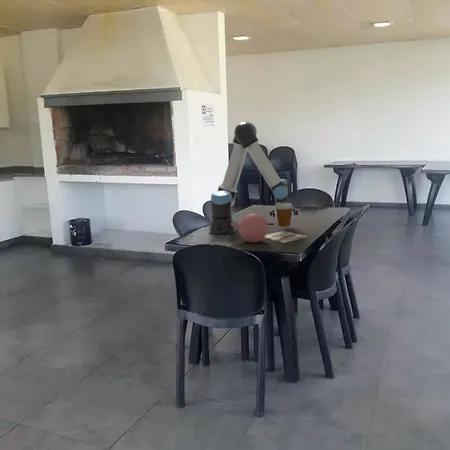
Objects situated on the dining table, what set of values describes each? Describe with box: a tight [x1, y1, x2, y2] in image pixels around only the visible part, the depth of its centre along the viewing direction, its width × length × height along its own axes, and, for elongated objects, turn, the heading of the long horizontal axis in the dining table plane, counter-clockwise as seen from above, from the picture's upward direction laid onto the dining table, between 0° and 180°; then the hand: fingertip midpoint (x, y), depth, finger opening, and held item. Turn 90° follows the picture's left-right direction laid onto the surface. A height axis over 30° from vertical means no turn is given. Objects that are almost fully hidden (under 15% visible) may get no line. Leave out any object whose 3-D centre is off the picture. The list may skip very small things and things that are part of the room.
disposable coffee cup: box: [274, 202, 294, 228], centre depth 285 cm, size 10×10×12 cm
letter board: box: [263, 230, 308, 244], centre depth 287 cm, size 18×18×1 cm
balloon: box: [231, 212, 269, 244], centre depth 278 cm, size 15×20×15 cm
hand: (284, 215), depth 280 cm, fingers closed on disposable coffee cup, 8 cm apart
